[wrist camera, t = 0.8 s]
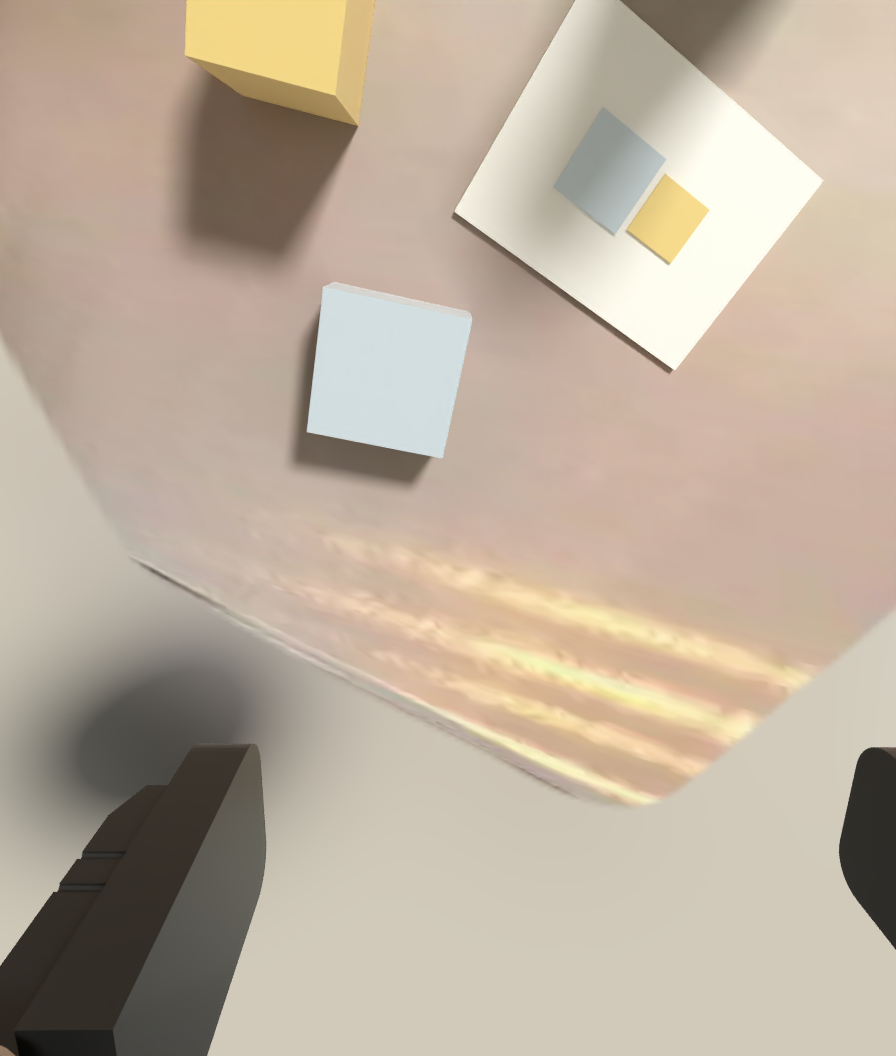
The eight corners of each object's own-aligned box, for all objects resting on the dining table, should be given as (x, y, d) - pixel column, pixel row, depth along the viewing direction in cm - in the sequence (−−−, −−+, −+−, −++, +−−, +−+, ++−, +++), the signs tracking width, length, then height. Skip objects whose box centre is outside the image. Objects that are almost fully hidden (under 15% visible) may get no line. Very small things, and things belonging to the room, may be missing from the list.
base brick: (318, 413, 29) (306, 431, 27) (335, 281, 27) (323, 286, 24) (442, 438, 30) (442, 458, 27) (469, 310, 28) (472, 319, 25)
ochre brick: (242, 95, 24) (184, 55, 18) (252, -54, 22) (191, -147, 17) (358, 126, 24) (335, 95, 19) (378, -17, 22) (358, -97, 17)
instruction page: (454, 211, 26) (454, 211, 25) (589, -24, 22) (590, -28, 22) (673, 369, 28) (675, 371, 28) (820, 181, 25) (824, 180, 25)
